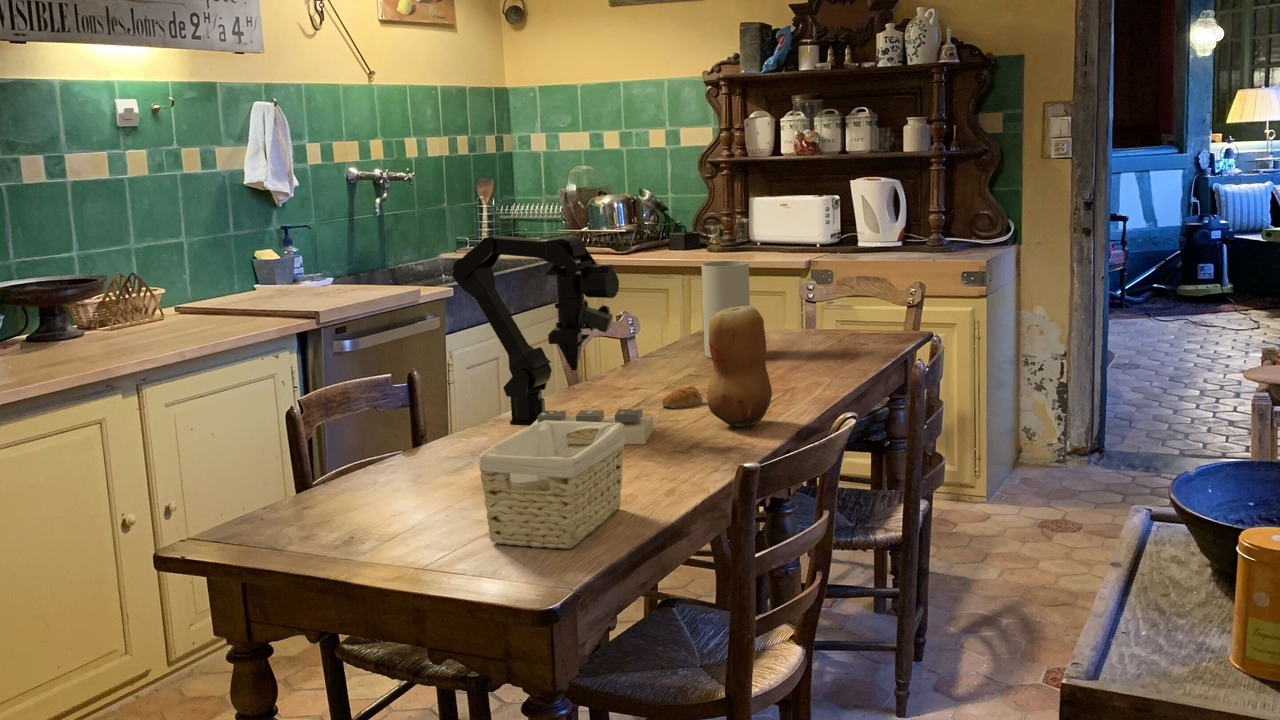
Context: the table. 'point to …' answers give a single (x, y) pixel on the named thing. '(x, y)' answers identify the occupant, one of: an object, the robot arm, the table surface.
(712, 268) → the cylinder vase
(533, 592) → the table surface
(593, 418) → the button one pip
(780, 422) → the table surface
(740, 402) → the butternut squash
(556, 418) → the button three pips
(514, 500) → the storage basket
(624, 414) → the button two pips
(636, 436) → the panel
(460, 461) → the table surface
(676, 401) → the pastry
